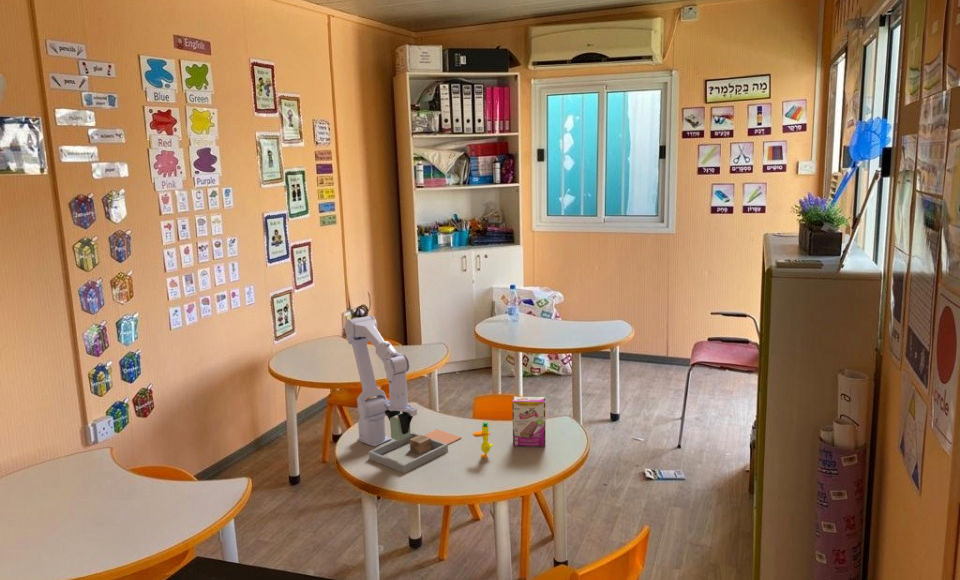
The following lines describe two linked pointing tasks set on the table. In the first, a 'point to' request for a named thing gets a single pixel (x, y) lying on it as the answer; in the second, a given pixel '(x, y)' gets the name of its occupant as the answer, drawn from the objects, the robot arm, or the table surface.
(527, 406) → the candy bar box
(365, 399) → the robot arm
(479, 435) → the toy figure
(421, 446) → the walnut block
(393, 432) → the labelled box
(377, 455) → the parts bin
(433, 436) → the mat
